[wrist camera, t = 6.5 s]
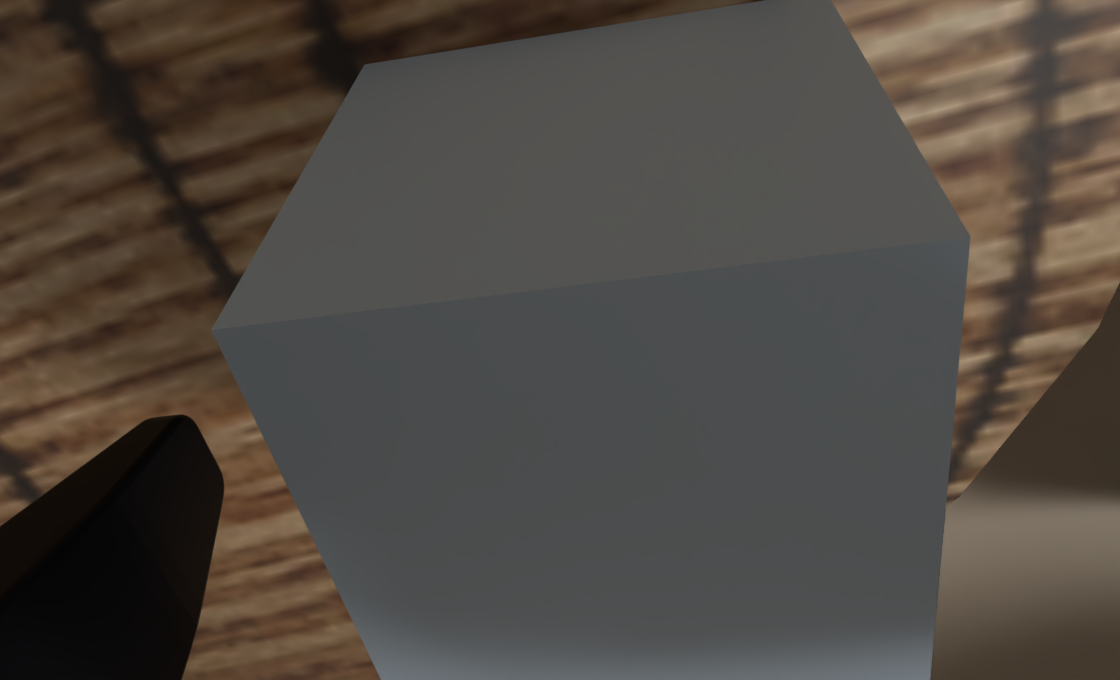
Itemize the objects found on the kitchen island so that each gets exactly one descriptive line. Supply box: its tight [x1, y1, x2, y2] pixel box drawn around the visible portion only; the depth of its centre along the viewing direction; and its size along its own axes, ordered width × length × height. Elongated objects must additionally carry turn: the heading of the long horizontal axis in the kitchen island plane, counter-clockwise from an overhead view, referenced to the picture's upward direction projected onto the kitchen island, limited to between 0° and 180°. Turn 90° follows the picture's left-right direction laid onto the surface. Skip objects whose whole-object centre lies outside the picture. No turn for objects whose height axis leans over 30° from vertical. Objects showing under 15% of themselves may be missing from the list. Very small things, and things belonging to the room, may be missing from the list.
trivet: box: [0, 0, 1120, 680], centre depth 12 cm, size 25×25×2 cm
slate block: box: [211, 0, 971, 680], centre depth 10 cm, size 5×5×5 cm
